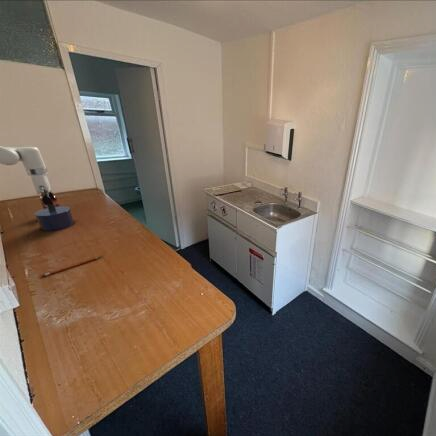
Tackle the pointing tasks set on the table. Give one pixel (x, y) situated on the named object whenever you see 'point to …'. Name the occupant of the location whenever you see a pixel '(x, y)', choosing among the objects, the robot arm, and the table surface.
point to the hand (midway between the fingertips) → (49, 201)
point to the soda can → (53, 202)
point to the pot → (56, 221)
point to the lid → (52, 211)
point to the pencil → (70, 266)
